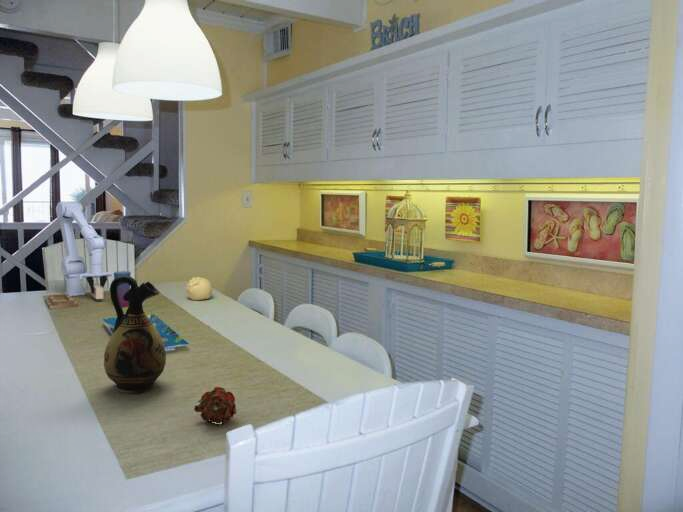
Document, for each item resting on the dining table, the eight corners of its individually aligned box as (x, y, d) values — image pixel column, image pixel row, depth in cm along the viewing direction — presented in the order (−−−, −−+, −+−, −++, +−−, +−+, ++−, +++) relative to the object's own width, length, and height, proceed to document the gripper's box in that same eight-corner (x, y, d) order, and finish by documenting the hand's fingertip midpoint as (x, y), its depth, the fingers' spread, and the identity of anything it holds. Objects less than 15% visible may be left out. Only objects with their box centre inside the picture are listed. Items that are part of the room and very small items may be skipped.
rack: (45, 300, 245) (44, 295, 245) (72, 298, 252) (71, 293, 251) (50, 308, 231) (49, 303, 230) (78, 306, 237) (78, 300, 236)
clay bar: (91, 294, 255) (90, 283, 254) (98, 293, 256) (97, 283, 256) (96, 299, 245) (95, 288, 244) (103, 298, 247) (103, 287, 246)
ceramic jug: (173, 377, 153) (171, 272, 149) (156, 398, 138) (154, 282, 134) (112, 376, 153) (108, 271, 149) (88, 398, 137) (84, 280, 134)
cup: (114, 305, 241) (113, 271, 239) (130, 304, 244) (130, 270, 242) (115, 308, 235) (114, 273, 233) (132, 307, 237) (131, 273, 236)
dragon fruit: (223, 440, 120) (206, 426, 130) (251, 411, 124) (233, 400, 134) (199, 413, 117) (184, 401, 128) (228, 384, 121) (211, 375, 131)
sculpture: (185, 297, 261) (185, 275, 260) (211, 296, 265) (211, 274, 263) (186, 302, 250) (186, 279, 249) (213, 301, 254) (213, 278, 252)
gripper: (80, 265, 241) (81, 296, 243) (115, 264, 249) (115, 293, 251) (77, 263, 247) (78, 293, 249) (111, 262, 255) (112, 290, 257)
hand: (97, 293), depth 250 cm, fingers closed on clay bar, 3 cm apart
